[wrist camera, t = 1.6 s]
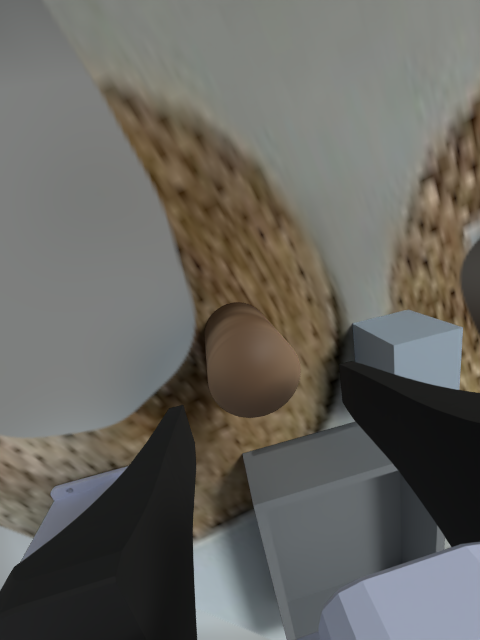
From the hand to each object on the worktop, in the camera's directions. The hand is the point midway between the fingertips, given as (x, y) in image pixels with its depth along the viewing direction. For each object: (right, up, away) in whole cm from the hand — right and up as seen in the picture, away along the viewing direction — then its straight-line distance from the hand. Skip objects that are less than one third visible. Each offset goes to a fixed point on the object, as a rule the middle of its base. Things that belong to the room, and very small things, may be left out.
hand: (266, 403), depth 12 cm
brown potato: (-1, +3, +9) cm, 10 cm away
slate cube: (+11, +2, +11) cm, 16 cm away
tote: (+9, -17, +16) cm, 25 cm away
